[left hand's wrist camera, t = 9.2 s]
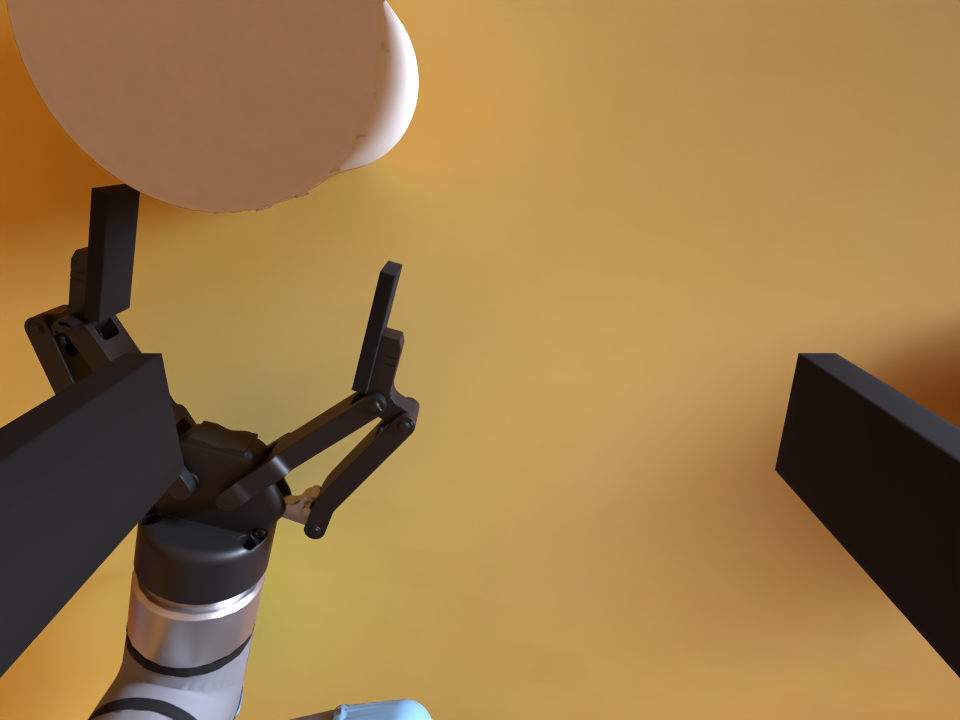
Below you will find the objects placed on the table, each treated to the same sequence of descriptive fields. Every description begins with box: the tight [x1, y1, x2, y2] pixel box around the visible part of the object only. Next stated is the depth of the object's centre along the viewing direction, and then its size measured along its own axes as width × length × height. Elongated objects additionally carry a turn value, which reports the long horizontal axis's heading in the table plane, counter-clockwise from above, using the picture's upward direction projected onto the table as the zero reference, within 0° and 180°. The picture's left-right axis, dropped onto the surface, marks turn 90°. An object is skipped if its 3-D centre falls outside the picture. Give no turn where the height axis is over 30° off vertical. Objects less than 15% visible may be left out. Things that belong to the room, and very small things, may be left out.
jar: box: [333, 0, 418, 174], centre depth 25 cm, size 10×10×16 cm
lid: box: [6, 0, 390, 213], centre depth 18 cm, size 11×11×2 cm
